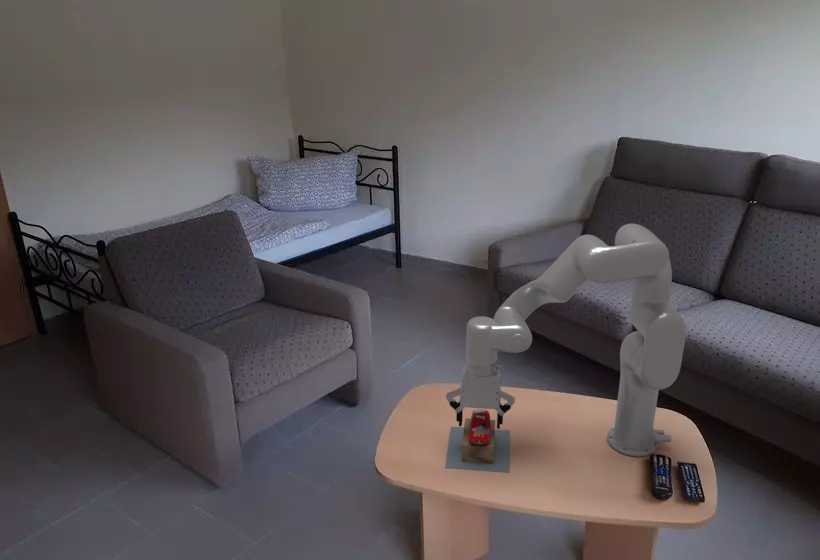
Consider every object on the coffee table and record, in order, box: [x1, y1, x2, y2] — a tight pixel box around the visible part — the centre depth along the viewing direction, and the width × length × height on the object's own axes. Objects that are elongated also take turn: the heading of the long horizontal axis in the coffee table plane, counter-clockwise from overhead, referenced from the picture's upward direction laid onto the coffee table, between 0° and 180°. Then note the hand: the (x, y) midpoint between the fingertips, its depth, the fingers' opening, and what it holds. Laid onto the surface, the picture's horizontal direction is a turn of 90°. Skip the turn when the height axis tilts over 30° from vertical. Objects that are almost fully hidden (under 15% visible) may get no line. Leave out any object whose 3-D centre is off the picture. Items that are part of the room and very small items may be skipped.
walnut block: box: [462, 417, 496, 464], centre depth 173 cm, size 8×12×5 cm, turn 172°
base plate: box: [444, 426, 511, 474], centre depth 174 cm, size 16×18×1 cm
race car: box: [469, 409, 491, 446], centre depth 171 cm, size 13×5×4 cm, turn 171°
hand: (479, 424), depth 171 cm, fingers open, 9 cm apart
